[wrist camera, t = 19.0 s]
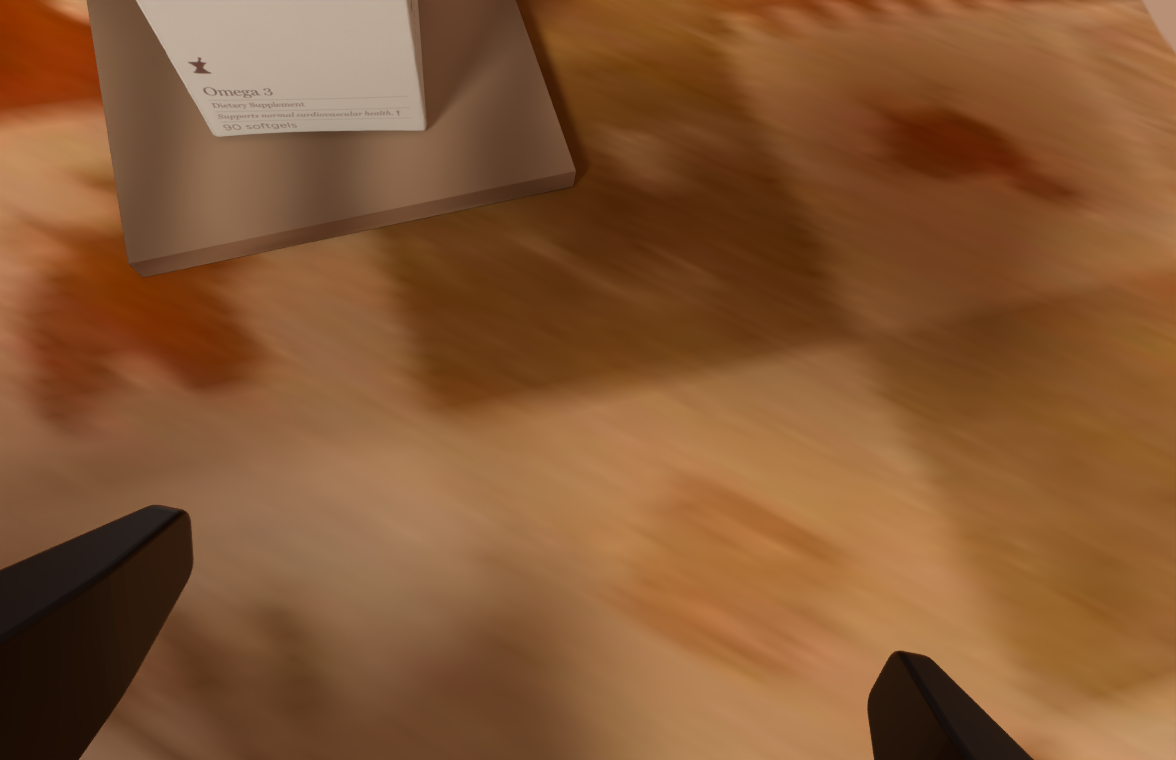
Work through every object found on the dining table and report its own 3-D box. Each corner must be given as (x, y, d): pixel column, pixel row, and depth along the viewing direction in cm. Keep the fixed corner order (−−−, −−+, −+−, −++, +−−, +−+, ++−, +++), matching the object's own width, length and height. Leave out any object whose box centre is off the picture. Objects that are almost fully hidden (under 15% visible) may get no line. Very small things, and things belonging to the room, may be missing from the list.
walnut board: (142, 277, 24) (128, 263, 23) (86, -67, 28) (72, -91, 27) (573, 186, 27) (576, 171, 26) (469, -113, 31) (468, -136, 30)
